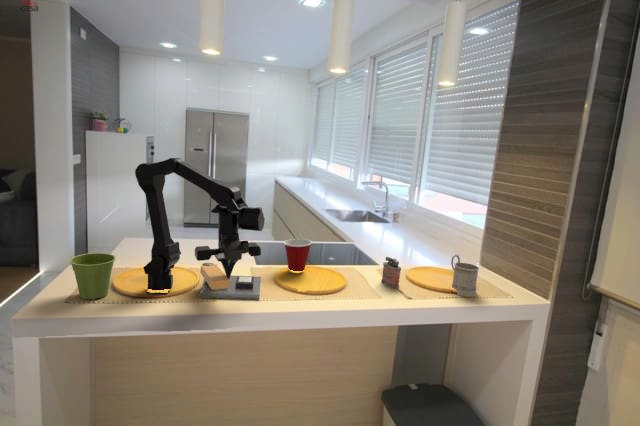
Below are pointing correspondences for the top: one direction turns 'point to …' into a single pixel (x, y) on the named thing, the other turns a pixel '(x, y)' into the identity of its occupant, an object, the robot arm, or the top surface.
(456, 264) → the mug
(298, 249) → the plastic cup
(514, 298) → the top surface
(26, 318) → the top surface
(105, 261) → the plant pot
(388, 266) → the lighter
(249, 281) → the power supply chassis
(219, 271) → the wooden plank
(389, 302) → the top surface
